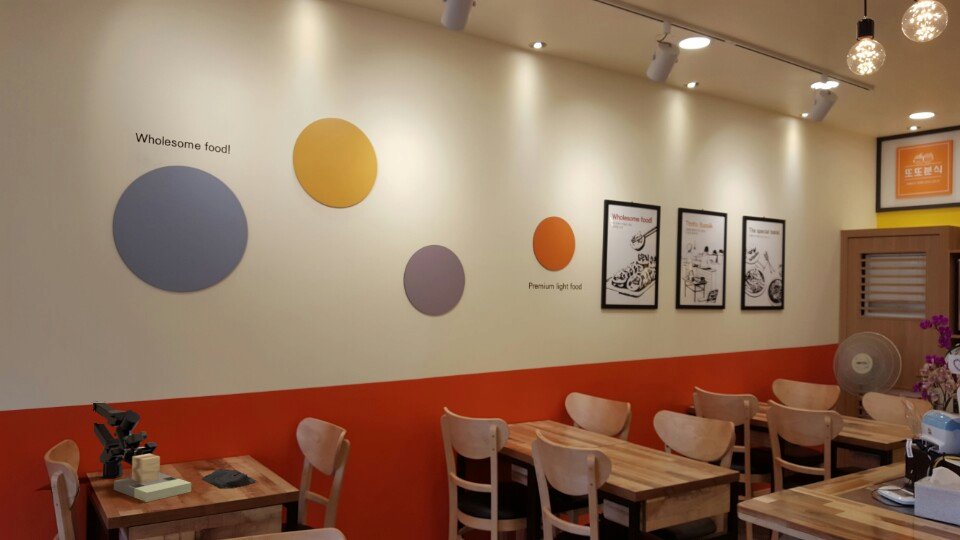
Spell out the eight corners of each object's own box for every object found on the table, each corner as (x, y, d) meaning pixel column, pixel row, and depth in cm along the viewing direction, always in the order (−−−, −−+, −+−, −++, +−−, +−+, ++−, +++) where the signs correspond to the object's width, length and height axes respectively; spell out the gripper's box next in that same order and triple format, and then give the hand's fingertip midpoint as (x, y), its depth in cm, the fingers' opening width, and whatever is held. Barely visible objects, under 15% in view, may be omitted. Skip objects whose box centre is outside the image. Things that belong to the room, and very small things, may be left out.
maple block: (131, 479, 283) (132, 456, 283) (148, 475, 289) (149, 453, 289) (142, 482, 278) (142, 459, 278) (159, 479, 284) (159, 456, 284)
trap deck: (113, 489, 280) (114, 480, 280) (157, 480, 295) (157, 471, 295) (146, 502, 265) (146, 492, 265) (191, 491, 280) (191, 482, 280)
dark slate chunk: (233, 473, 309) (233, 462, 309) (258, 484, 294) (258, 472, 294) (198, 480, 298) (199, 468, 298) (223, 491, 283) (223, 479, 283)
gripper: (110, 428, 283) (123, 461, 276) (155, 422, 298) (168, 452, 291) (100, 445, 287) (112, 478, 280) (145, 438, 302) (158, 469, 295)
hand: (138, 468), depth 287 cm, fingers closed
